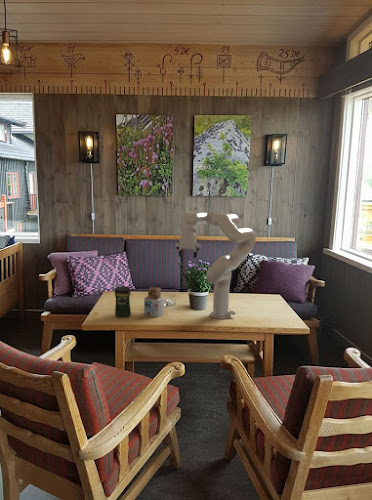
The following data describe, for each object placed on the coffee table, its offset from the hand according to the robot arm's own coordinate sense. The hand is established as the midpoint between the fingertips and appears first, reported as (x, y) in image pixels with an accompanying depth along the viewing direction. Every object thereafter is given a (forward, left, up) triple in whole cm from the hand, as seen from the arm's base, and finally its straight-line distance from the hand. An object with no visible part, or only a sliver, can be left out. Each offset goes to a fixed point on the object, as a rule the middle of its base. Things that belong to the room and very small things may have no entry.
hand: (187, 257), depth 265 cm
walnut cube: (+15, +23, -23) cm, 35 cm away
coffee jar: (+32, +32, -34) cm, 56 cm away
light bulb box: (+15, +23, -34) cm, 43 cm away
